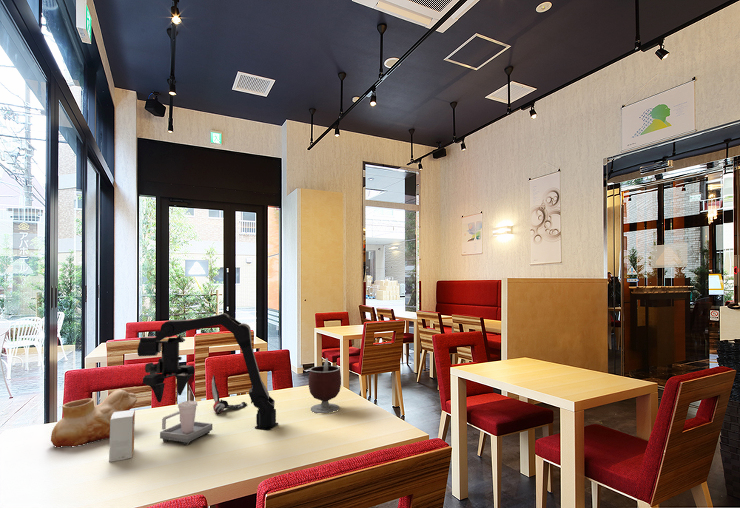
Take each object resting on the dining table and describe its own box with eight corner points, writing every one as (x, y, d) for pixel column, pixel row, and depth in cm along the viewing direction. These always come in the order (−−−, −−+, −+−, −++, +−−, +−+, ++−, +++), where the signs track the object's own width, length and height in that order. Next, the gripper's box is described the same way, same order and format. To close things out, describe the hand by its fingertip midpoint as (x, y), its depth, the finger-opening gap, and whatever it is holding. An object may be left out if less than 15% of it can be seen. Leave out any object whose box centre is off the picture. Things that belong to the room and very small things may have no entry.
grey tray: (212, 433, 148) (212, 411, 149) (187, 446, 137) (187, 422, 138) (184, 429, 153) (184, 408, 153) (157, 441, 141) (158, 418, 142)
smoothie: (189, 435, 141) (190, 393, 142) (173, 433, 142) (174, 393, 143) (201, 428, 147) (201, 388, 148) (185, 427, 149) (185, 388, 150)
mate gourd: (339, 414, 167) (339, 365, 169) (306, 414, 168) (305, 365, 169) (342, 403, 183) (342, 357, 184) (312, 403, 183) (311, 358, 184)
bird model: (225, 435, 173) (241, 408, 186) (242, 422, 167) (258, 394, 180) (186, 407, 169) (205, 381, 182) (202, 393, 163) (221, 366, 176)
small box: (132, 458, 129) (133, 416, 129) (108, 462, 126) (109, 419, 127) (134, 448, 136) (135, 408, 137) (112, 452, 133) (112, 411, 134)
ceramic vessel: (142, 430, 152) (143, 390, 153) (54, 453, 133) (56, 406, 134) (129, 422, 162) (130, 384, 163) (46, 442, 143) (48, 398, 143)
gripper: (173, 349, 161) (172, 390, 160) (131, 358, 143) (130, 404, 142) (195, 351, 157) (195, 392, 156) (155, 360, 139) (154, 407, 138)
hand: (169, 398), depth 148 cm, fingers open, 9 cm apart
